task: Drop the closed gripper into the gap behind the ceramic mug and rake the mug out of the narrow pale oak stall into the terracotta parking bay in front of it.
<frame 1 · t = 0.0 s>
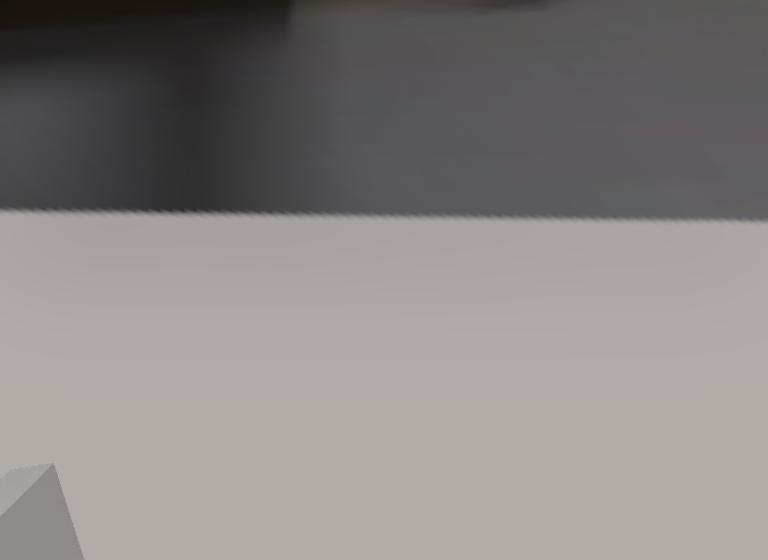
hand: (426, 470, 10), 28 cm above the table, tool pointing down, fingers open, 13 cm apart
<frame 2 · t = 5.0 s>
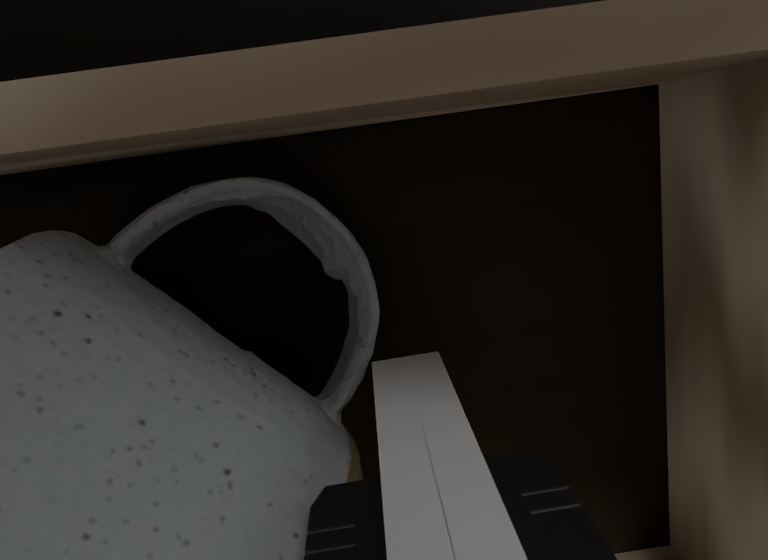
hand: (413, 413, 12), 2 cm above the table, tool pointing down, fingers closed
oak stall: (323, 387, 15), on the table
ceramic mug: (196, 363, 15), on the table, touching gripper
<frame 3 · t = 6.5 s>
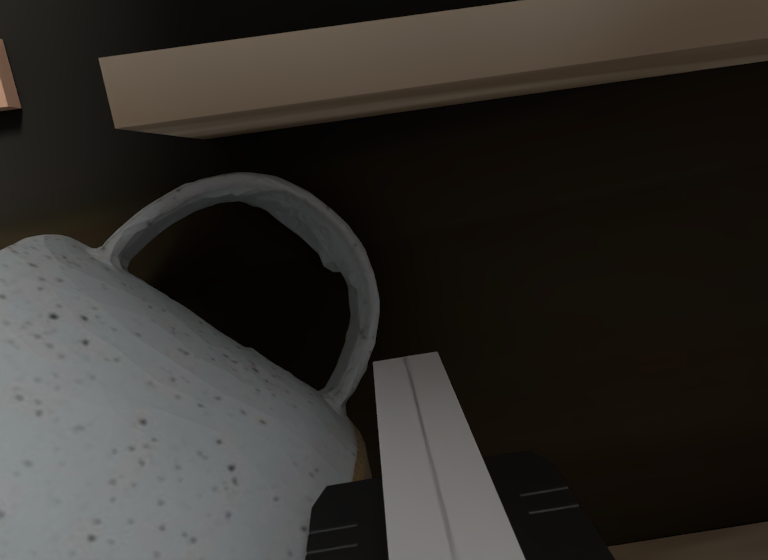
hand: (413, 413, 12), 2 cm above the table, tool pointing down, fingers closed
oak stall: (634, 333, 15), on the table
ceramic mug: (199, 363, 15), on the table, touching gripper
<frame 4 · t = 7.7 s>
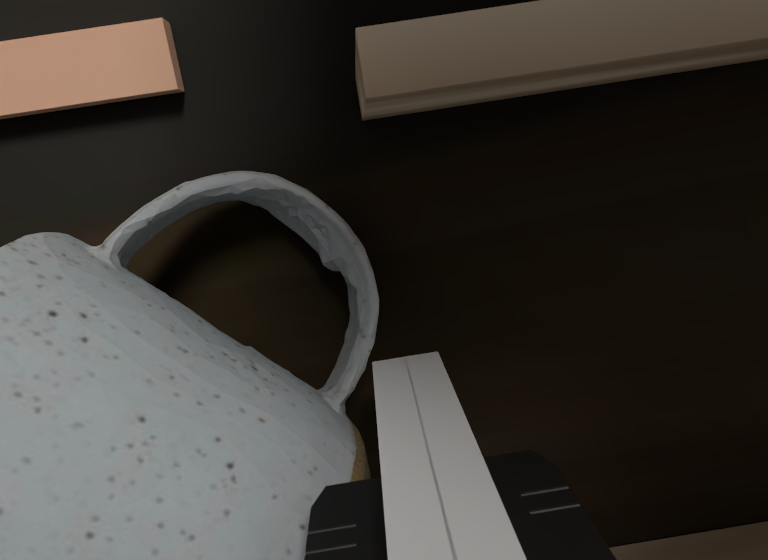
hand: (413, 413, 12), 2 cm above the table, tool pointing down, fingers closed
ceramic mug: (198, 362, 15), on the table, touching gripper
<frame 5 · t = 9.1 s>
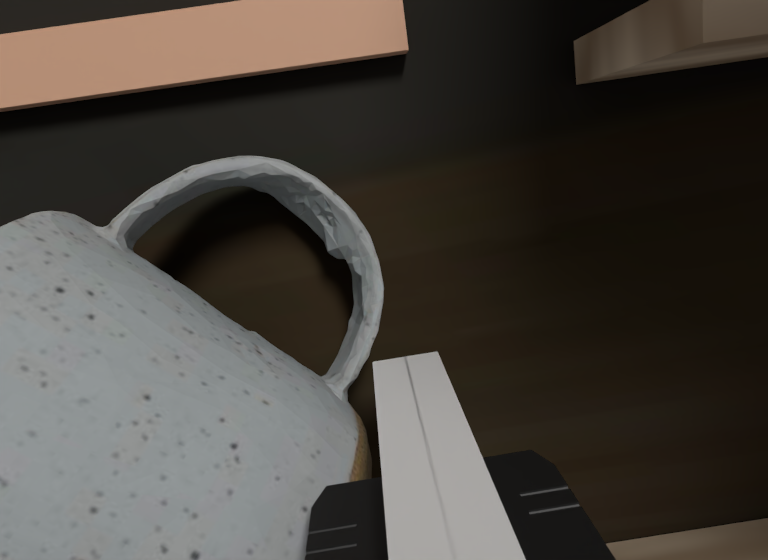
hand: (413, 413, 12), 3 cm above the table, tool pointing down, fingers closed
terracotta bay: (110, 410, 15), on the table
ceramic mug: (201, 348, 15), on the table, touching gripper
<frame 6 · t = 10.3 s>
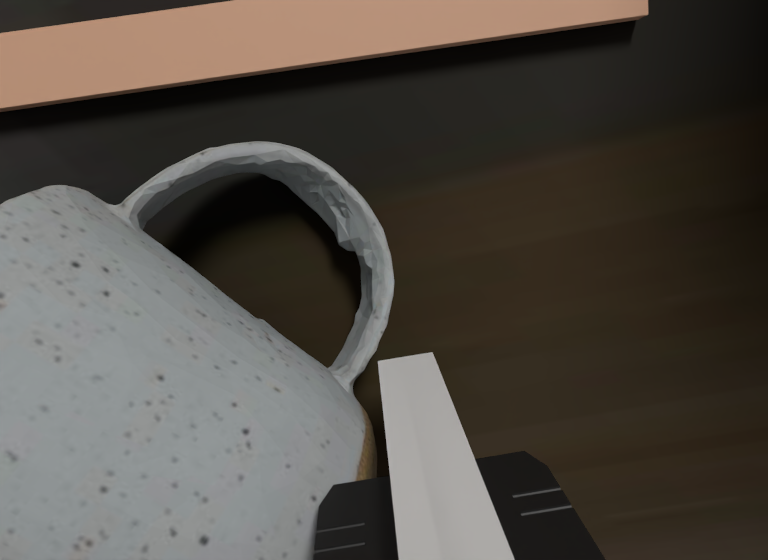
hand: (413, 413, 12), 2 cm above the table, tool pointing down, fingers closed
terracotta bay: (318, 380, 15), on the table
ceramic mug: (203, 335, 14), on the table, touching gripper, terracotta bay
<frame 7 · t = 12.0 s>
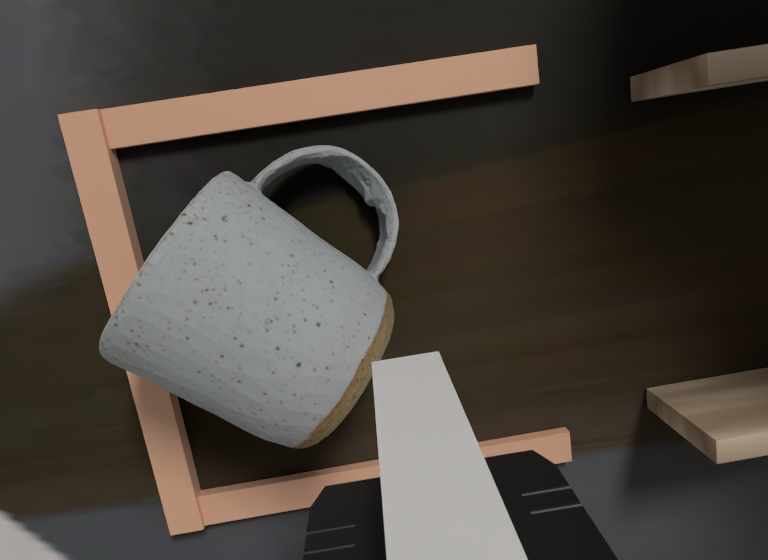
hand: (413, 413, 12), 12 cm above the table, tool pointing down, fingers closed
terracotta bay: (350, 300, 24), on the table
ceramic mug: (285, 264, 24), on the table
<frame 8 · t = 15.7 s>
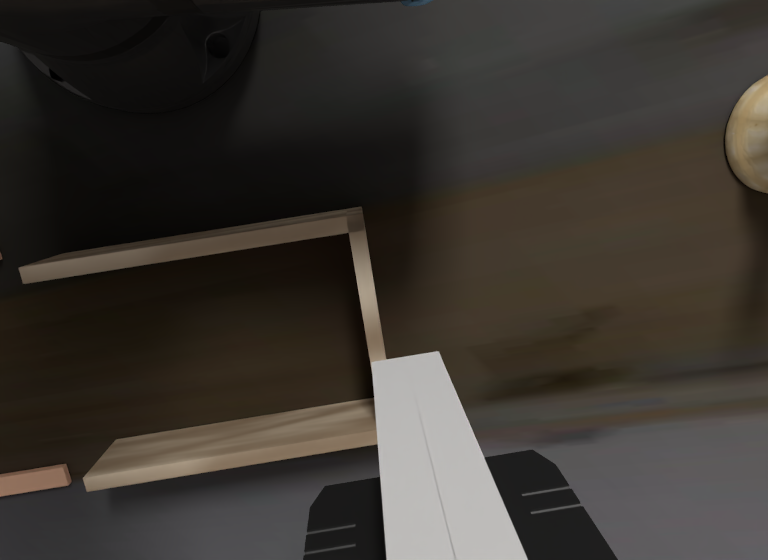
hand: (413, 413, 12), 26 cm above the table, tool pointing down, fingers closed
oak stall: (235, 333, 39), on the table
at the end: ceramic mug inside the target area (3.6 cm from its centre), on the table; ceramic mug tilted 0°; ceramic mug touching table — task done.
